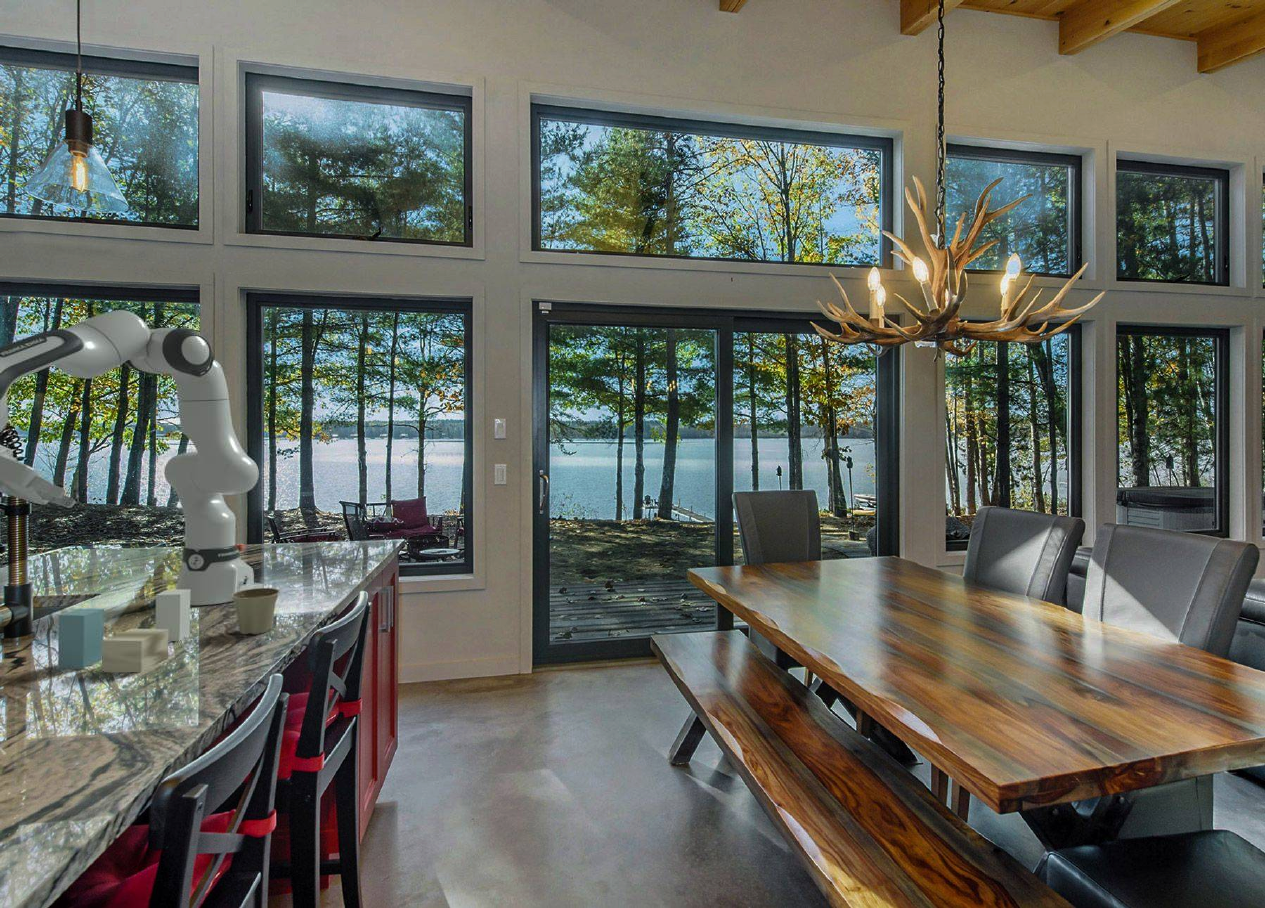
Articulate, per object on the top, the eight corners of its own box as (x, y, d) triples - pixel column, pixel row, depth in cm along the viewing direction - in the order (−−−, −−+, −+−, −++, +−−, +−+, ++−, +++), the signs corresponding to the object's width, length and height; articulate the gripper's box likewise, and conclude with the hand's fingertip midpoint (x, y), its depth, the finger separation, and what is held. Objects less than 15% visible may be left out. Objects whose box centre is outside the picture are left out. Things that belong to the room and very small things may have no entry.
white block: (166, 635, 135) (166, 589, 135) (189, 634, 136) (190, 589, 136) (155, 642, 131) (156, 594, 130) (179, 641, 132) (180, 594, 131)
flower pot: (256, 639, 134) (257, 599, 134) (219, 635, 136) (220, 596, 136) (289, 626, 144) (289, 589, 143) (254, 623, 145) (254, 586, 145)
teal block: (78, 660, 119) (79, 608, 119) (102, 660, 119) (103, 609, 119) (58, 668, 115) (58, 615, 114) (83, 669, 115) (84, 615, 115)
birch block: (130, 659, 121) (131, 628, 121) (168, 659, 121) (168, 629, 121) (101, 672, 114) (102, 640, 114) (141, 673, 114) (141, 640, 114)
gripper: (-21, 435, 108) (68, 473, 113) (11, 464, 125) (88, 495, 130) (-50, 466, 105) (43, 503, 110) (-13, 491, 122) (67, 522, 127)
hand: (68, 499), depth 120 cm, fingers open, 8 cm apart
